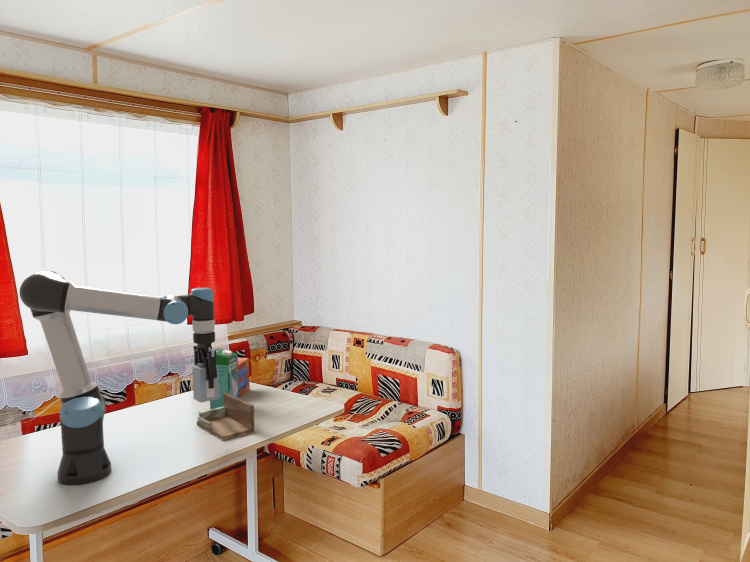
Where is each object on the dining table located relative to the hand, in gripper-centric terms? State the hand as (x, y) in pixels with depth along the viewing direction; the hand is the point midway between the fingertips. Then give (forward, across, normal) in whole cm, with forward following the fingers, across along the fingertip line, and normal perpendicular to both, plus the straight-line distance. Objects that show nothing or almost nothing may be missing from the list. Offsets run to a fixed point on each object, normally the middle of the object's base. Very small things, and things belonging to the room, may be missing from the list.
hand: (206, 394), depth 207 cm
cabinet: (+1, 0, 0) cm, 1 cm away
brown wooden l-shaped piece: (+17, +8, -11) cm, 22 cm away
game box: (+18, +49, -33) cm, 61 cm away
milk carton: (+17, +32, -23) cm, 43 cm away
